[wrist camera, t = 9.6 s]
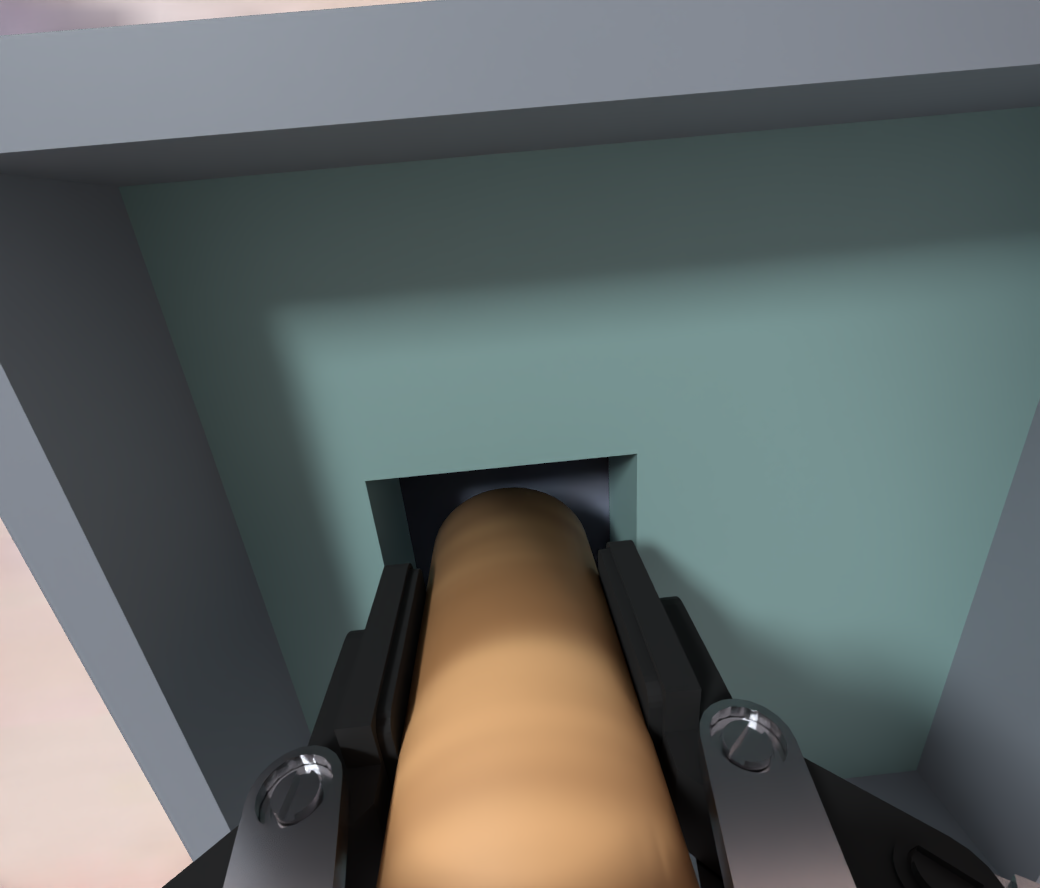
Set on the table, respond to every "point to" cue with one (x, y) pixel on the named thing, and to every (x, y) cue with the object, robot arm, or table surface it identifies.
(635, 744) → the peg
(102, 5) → the table surface
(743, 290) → the bore box
